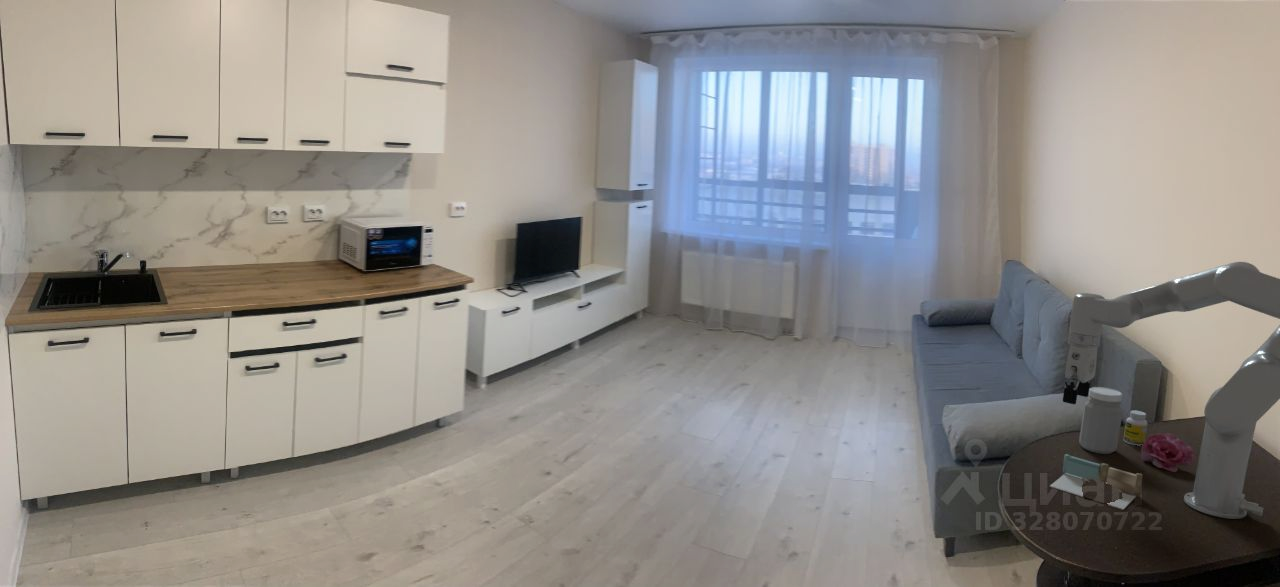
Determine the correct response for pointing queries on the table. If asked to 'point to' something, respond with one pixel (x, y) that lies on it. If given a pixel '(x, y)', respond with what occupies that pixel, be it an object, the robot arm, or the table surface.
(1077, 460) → the fence gate
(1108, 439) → the jar
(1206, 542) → the table surface
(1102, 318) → the robot arm
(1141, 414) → the supplement bottle
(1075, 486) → the card
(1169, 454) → the flower
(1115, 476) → the fence fixed
